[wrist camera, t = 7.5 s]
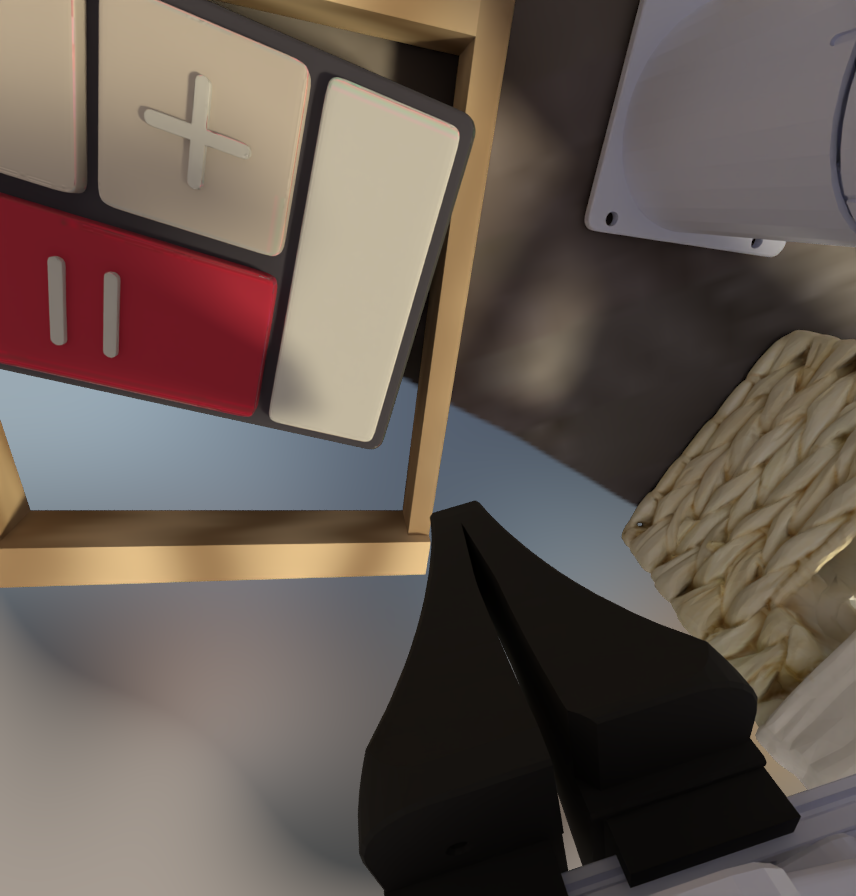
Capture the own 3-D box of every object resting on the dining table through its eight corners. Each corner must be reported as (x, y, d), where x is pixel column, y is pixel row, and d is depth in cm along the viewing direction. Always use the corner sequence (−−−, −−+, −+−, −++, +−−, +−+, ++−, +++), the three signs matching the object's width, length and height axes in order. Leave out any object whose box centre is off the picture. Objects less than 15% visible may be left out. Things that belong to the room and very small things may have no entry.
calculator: (-262, -218, 8) (489, 112, 12) (-65, -82, 12) (458, 136, 16) (-137, 353, 13) (381, 463, 16) (-23, 321, 16) (377, 416, 20)
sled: (494, 22, 15) (522, -9, 12) (417, 540, 24) (425, 574, 22) (-245, -161, 11) (-393, -255, 8) (16, 546, 20) (-22, 588, 18)
